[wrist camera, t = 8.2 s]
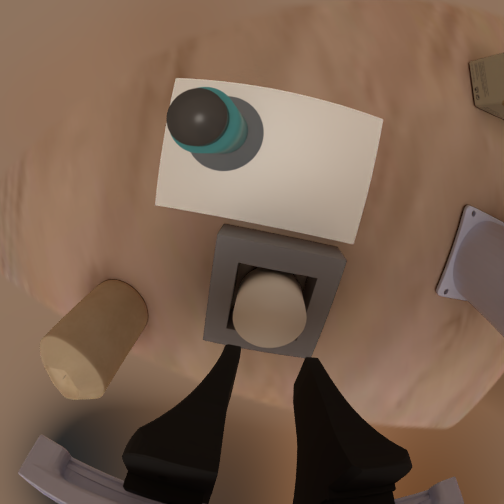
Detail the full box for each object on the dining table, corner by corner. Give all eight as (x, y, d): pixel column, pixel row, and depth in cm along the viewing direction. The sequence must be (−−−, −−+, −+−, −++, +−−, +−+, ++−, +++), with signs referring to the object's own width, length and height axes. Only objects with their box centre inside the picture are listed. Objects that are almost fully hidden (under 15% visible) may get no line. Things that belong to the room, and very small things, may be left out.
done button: (309, 272, 18) (315, 294, 15) (292, 326, 20) (295, 352, 17) (243, 260, 18) (239, 280, 15) (233, 315, 20) (227, 340, 17)
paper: (381, 119, 15) (383, 119, 15) (352, 243, 19) (353, 245, 18) (177, 79, 15) (175, 77, 15) (156, 204, 18) (154, 205, 18)
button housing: (337, 246, 19) (346, 260, 16) (306, 337, 22) (310, 358, 19) (224, 223, 19) (217, 234, 16) (209, 320, 21) (203, 340, 19)
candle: (87, 280, 21) (16, 345, 12) (137, 275, 21) (66, 353, 11) (108, 332, 23) (55, 404, 14) (156, 332, 22) (109, 419, 13)
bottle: (252, 112, 16) (241, 86, 9) (242, 157, 17) (224, 159, 10) (206, 105, 16) (169, 78, 9) (196, 149, 17) (153, 147, 10)
